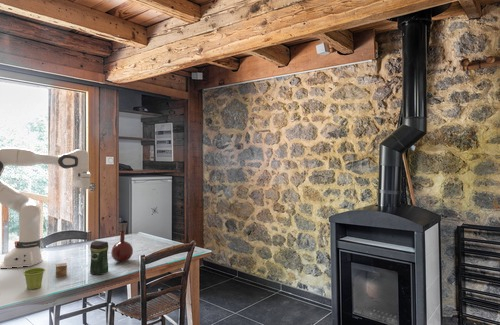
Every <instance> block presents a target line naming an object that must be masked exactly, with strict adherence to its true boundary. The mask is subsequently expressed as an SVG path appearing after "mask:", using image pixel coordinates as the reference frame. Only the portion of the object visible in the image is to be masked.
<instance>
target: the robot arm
mask: <svg viewBox="0 0 500 325" xmlns="http://www.w3.org/2000/svg"><path fill="white" fill-rule="evenodd" d="M89 164H90V156H89V152H88V151H86V150H84V149H79V148H78V149H75V150H73V151H70V152H68V153H64V154H59V155H53V154H45V153H41V152H37V151H34V150H31V149H27V148H21V147H20V148H19V147H0V177H1V175H3V172H4V169H5V167H7V166H15V167H31V166H35V165H52V166H55V165H56V166H59V167H61V169H67V170H68V169H69V170H70V169H71V168H73V182H72V183H73V184H72V185H73V187H75V190H76V194H77V195H80V194H81V196H86V192H87V190H88V189H90V186H91V177H92V173H91V172H90V169H89ZM0 204H1V205H3V206H4V207H6V208H9V209H11V210H13V211H14V212H16V213H18V222H19V223H18V240H15V241H14V248H12V249H11V250H10V251H8V252H7V253H6V254H5V255H4V258H3V261H2V262H0V269H1V268H7V269H13V268H12V267H17V268H24V267H23V266H28V267H32V266H34V265H37V264H40V263H42V262H43V261H44V259H43V257H42V253H41V252H42V251H41V248H42V240H41V211H42V210H41V206H40V204H39V202H37V200H34V199H33V198H31V197H29V196H28V195H26V194H24V193H22V191H21V192H20V191H19V190H17V189H16V188H14V187H13V186H11V185H10V184H8V183H7V182H5V181H3V180H2V179H1V178H0Z"/></svg>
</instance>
